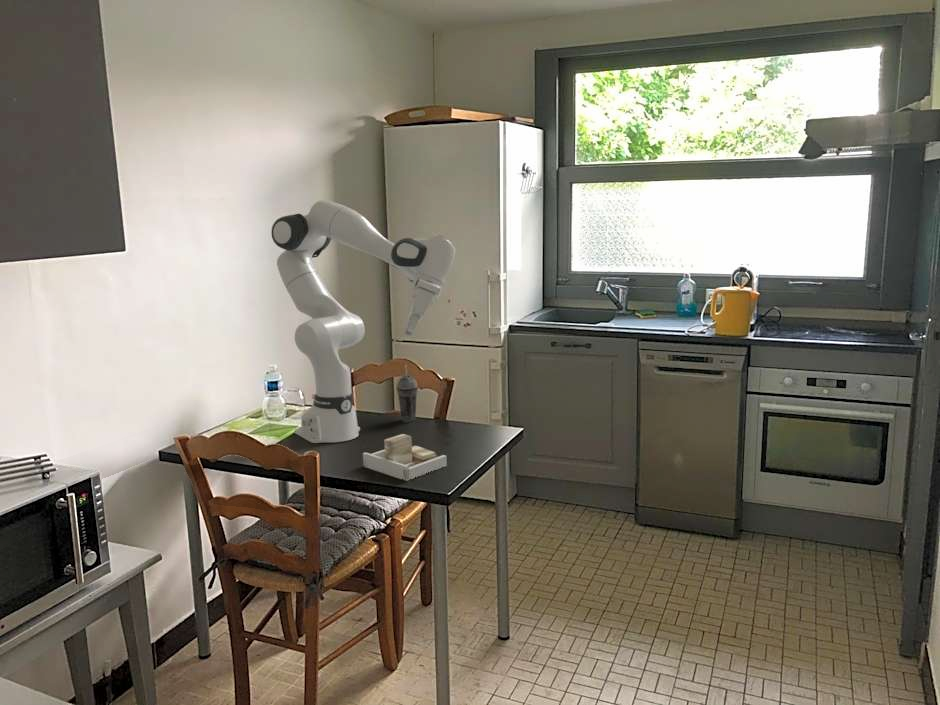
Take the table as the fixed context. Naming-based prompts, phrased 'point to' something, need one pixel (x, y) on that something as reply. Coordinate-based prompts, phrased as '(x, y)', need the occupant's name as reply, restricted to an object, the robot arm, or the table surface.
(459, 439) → the table surface
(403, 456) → the pale wooden block
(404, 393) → the beverage cup
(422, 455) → the offcut stack
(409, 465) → the tray
